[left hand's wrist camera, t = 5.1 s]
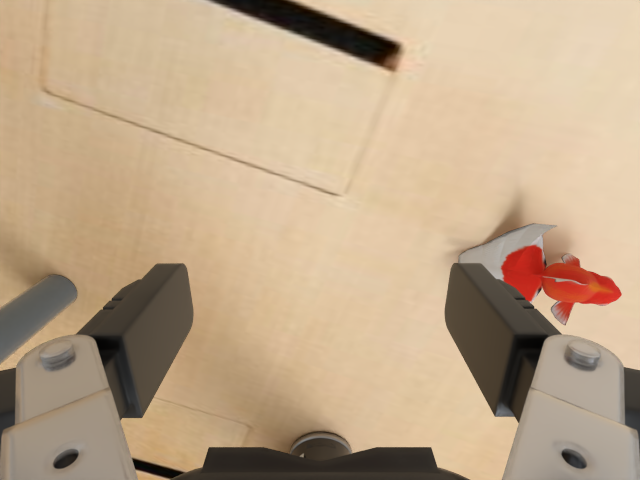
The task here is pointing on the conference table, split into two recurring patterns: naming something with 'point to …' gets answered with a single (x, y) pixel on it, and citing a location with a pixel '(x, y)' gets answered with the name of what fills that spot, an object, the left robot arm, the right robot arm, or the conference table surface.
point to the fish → (541, 271)
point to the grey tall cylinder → (33, 312)
